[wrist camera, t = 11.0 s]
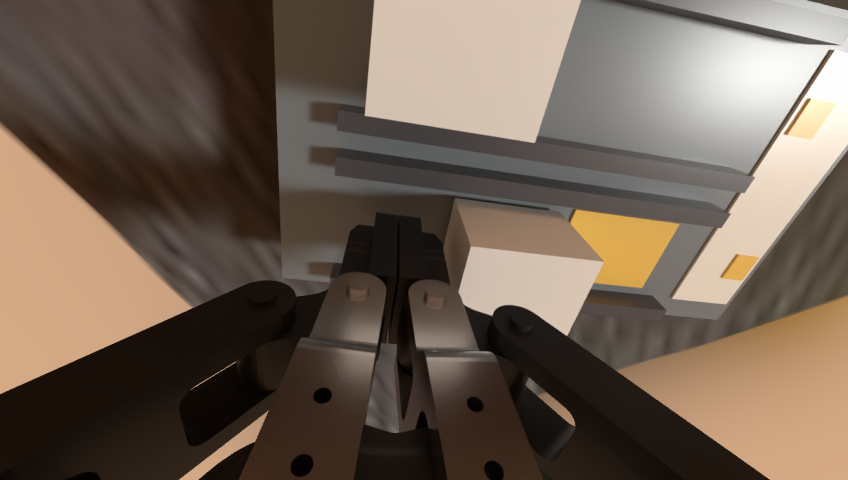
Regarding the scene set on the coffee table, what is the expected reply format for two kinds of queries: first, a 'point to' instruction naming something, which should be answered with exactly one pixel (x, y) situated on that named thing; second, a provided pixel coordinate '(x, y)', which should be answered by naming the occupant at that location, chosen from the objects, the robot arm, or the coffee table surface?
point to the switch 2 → (519, 260)
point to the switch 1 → (467, 63)
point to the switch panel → (585, 143)
